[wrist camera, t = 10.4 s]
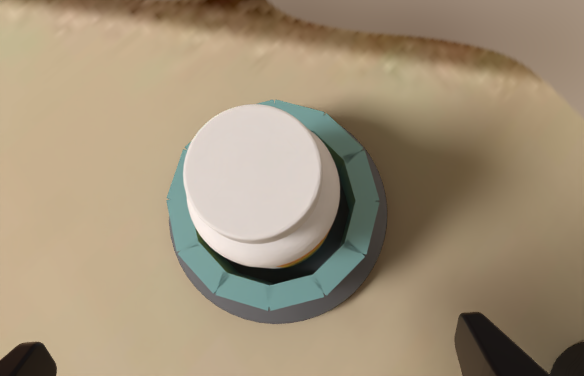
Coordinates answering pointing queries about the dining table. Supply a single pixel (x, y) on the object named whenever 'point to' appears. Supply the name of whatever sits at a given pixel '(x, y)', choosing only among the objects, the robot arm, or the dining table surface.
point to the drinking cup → (570, 362)
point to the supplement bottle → (260, 187)
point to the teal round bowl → (313, 271)
